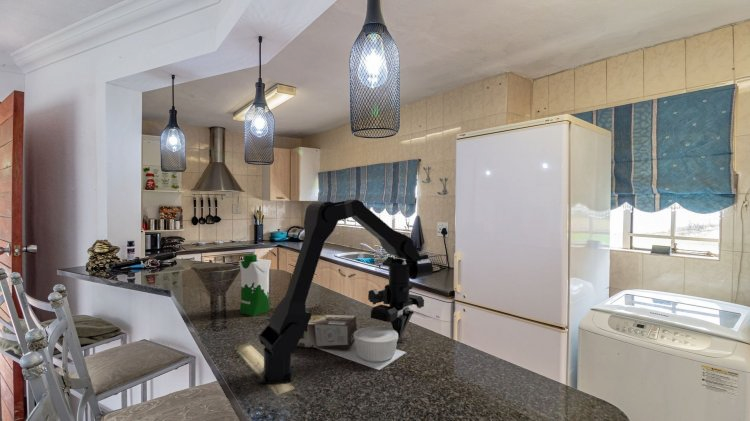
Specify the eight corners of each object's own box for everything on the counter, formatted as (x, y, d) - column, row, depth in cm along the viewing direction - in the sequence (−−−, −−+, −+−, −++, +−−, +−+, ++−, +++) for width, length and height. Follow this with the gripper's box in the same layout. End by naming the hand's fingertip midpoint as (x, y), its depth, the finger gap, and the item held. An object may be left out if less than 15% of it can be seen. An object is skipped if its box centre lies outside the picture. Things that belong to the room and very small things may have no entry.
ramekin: (355, 344, 95) (355, 325, 94) (397, 345, 94) (397, 326, 94) (351, 363, 83) (351, 341, 83) (398, 365, 83) (399, 342, 83)
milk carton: (236, 313, 121) (236, 254, 121) (257, 306, 129) (257, 251, 129) (252, 317, 117) (253, 257, 116) (274, 310, 124) (274, 254, 124)
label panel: (406, 352, 91) (406, 351, 91) (379, 370, 81) (379, 369, 81) (341, 333, 103) (341, 332, 103) (311, 346, 94) (311, 345, 94)
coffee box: (289, 347, 93) (348, 351, 90) (288, 322, 93) (347, 325, 90) (303, 335, 102) (357, 338, 99) (303, 313, 102) (357, 315, 99)
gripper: (393, 272, 109) (392, 322, 110) (354, 283, 94) (354, 341, 95) (425, 277, 103) (424, 330, 103) (389, 289, 88) (388, 352, 88)
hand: (398, 337), depth 97 cm, fingers closed
